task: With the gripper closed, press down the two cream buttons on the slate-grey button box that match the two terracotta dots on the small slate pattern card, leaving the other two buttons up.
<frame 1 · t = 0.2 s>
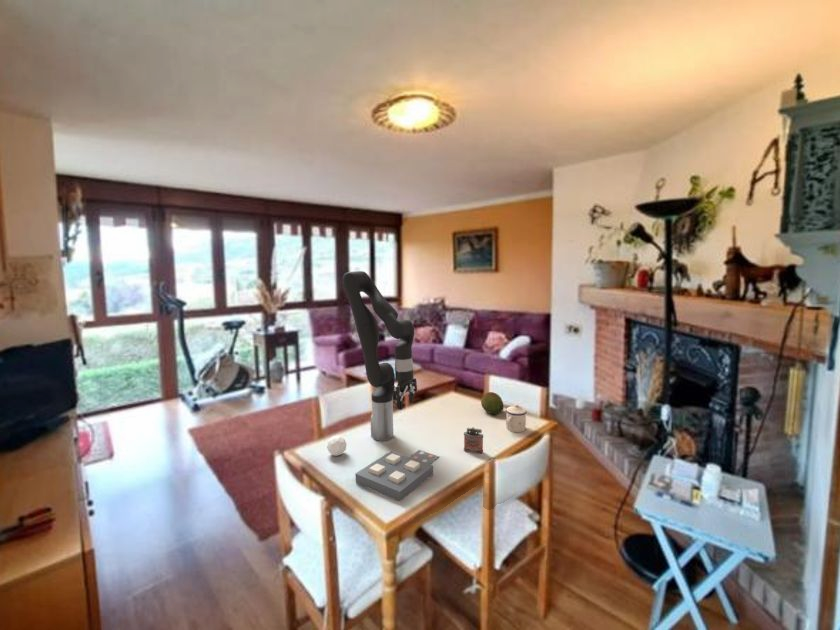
hand: (406, 406, 169), 17 cm above the table, tool pointing down, fingers open, 8 cm apart
button 4: (397, 478, 139), point 4 cm above the table, slide at 0.0 cm
button 3: (377, 470, 144), point 4 cm above the table, slide at 0.0 cm
pattern card: (423, 457, 160), on the table
button 1: (393, 460, 151), point 4 cm above the table, slide at 0.0 cm
button box: (395, 478, 145), on the table
teacup with lid: (514, 430, 185), on the table
geometric ball: (337, 454, 164), on the table
fruit: (493, 412, 206), on the table
lighter: (473, 451, 165), on the table
button 2: (412, 467, 146), point 4 cm above the table, slide at 0.0 cm
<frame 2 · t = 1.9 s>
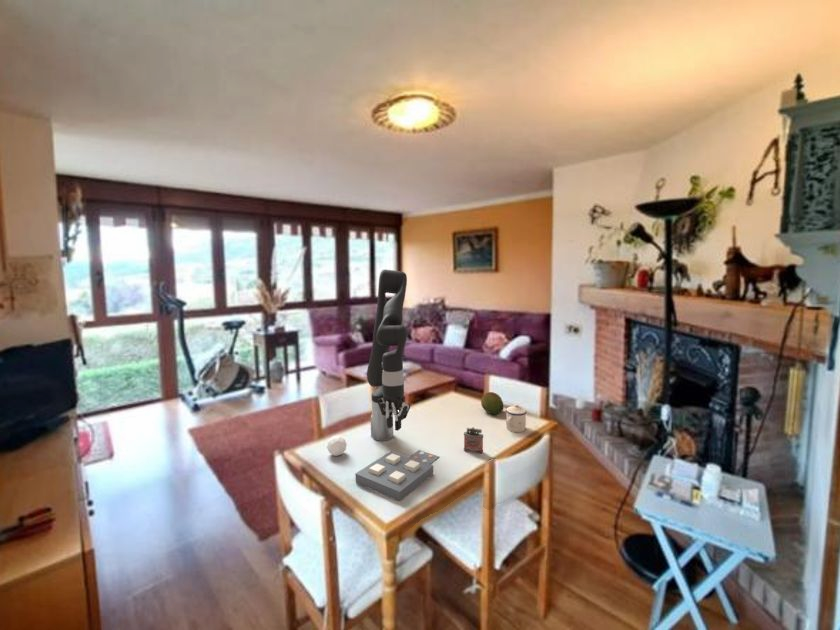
hand: (394, 428, 143), 19 cm above the table, tool pointing down, fingers open, 3 cm apart
nothing on the table moved.
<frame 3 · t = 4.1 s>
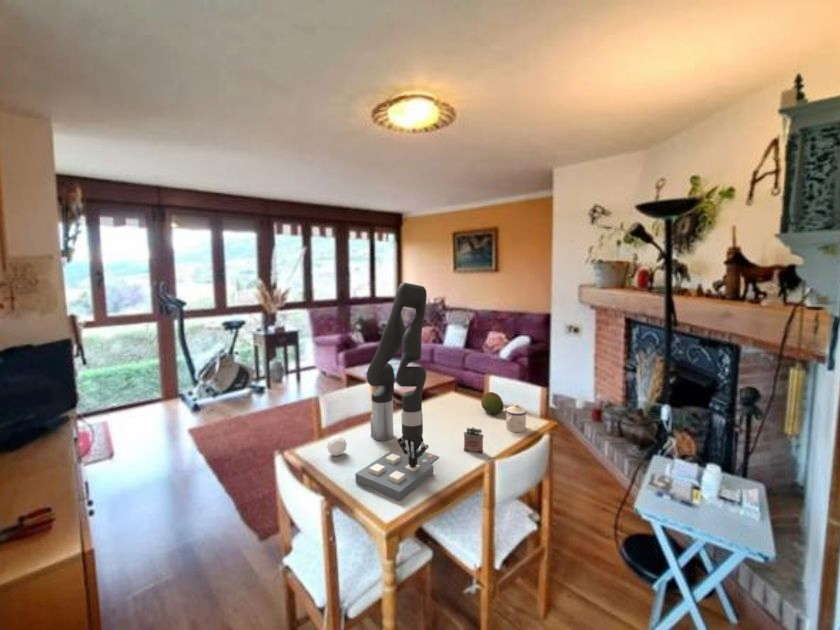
hand: (413, 466, 146), 4 cm above the table, tool pointing down, fingers closed
button 2: (412, 469, 146), point 3 cm above the table, slide at 1.0 cm, touching gripper
everything else where it was.
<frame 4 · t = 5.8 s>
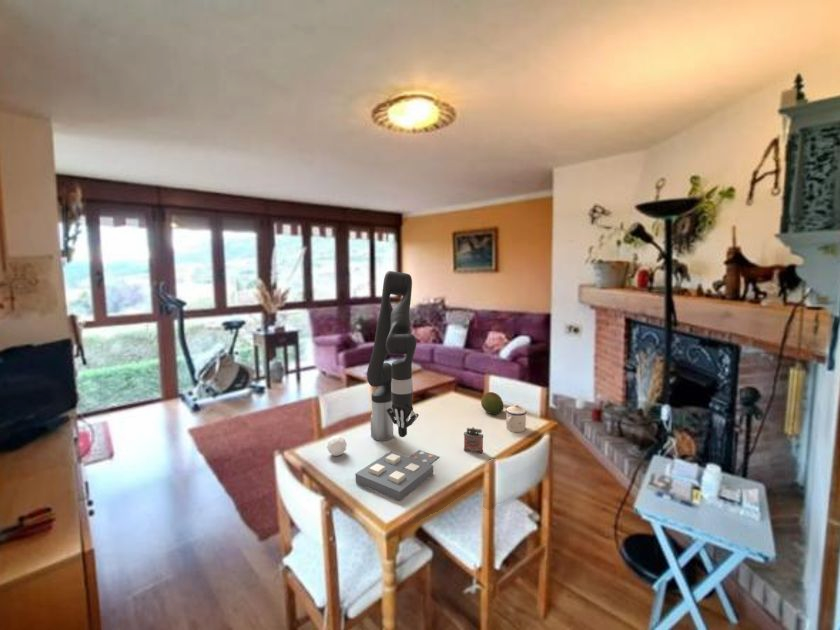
hand: (402, 436, 144), 16 cm above the table, tool pointing down, fingers closed
button 2: (412, 470, 146), point 2 cm above the table, slide at 1.2 cm
everything else where it was.
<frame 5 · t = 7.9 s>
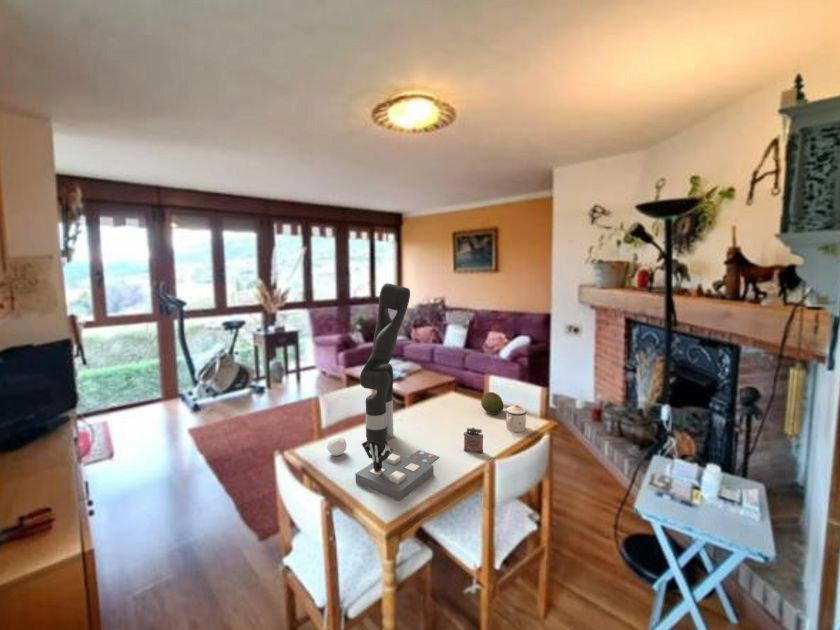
hand: (377, 470, 144), 4 cm above the table, tool pointing down, fingers closed
button 3: (377, 473, 144), point 3 cm above the table, slide at 1.1 cm, touching gripper
everything else where it was.
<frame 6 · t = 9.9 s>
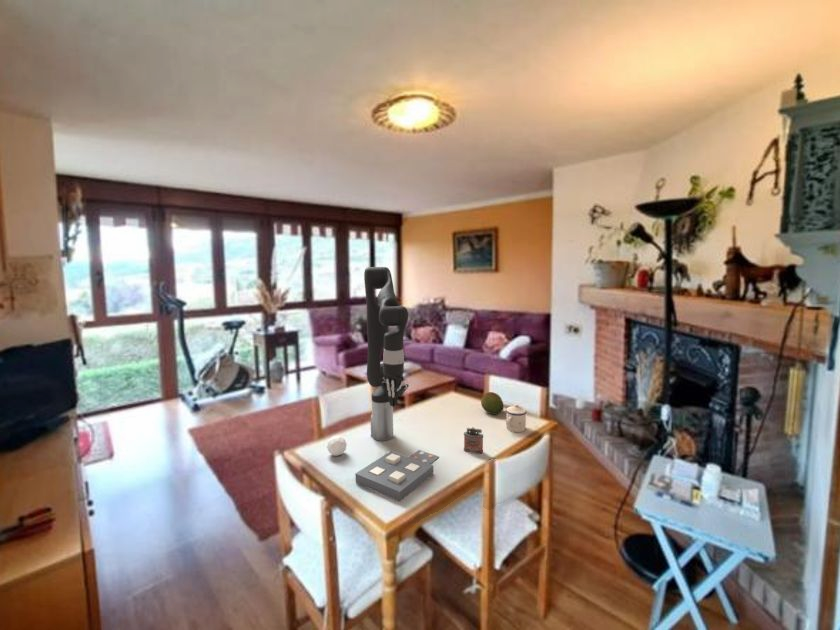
hand: (393, 405, 149), 25 cm above the table, tool pointing down, fingers closed
button 3: (377, 473, 144), point 2 cm above the table, slide at 1.2 cm
everything else where it was.
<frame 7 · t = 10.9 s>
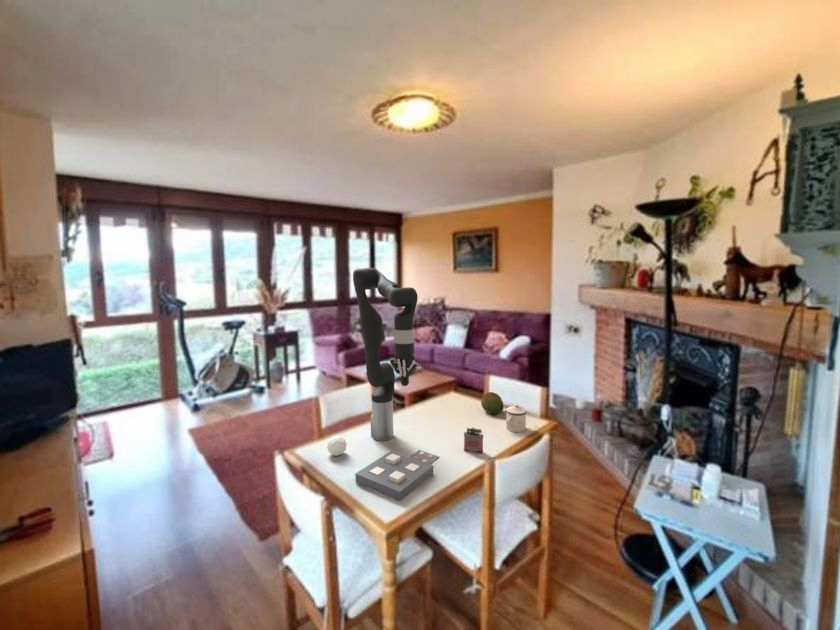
hand: (404, 385, 153), 31 cm above the table, tool pointing down, fingers closed
nothing on the table moved.
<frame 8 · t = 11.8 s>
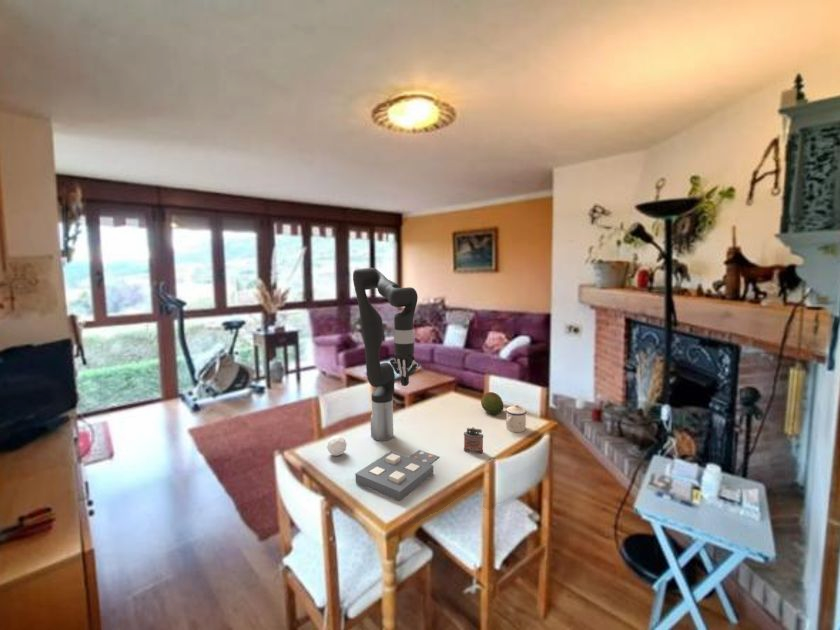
hand: (404, 385, 153), 31 cm above the table, tool pointing down, fingers closed
nothing on the table moved.
at the end: button 2 slide at 1.2 cm; button 3 slide at 1.2 cm; button 1 slide at 0.0 cm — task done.
